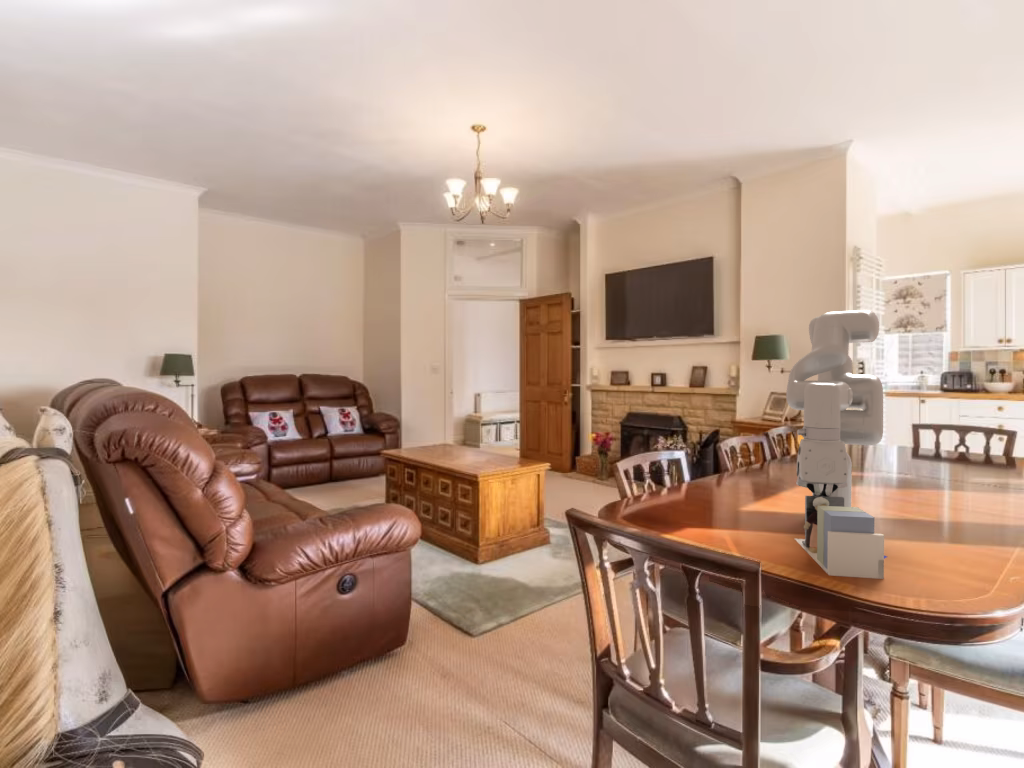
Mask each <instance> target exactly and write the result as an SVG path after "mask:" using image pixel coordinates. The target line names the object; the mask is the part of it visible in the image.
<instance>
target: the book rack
mask: <svg viewBox="0 0 1024 768" xmlns="http://www.w3.org/2000/svg"><path fill="white" fill-rule="evenodd" d="M794 540H795V542H797V543H798V545H800V547H801V548H802V549H803V550H804V551H805V552H806V553H807V554H808V555H809V556H810V557H811V559H813V560H814V561H815V562H816V563H817V565H819V567H821V569H822V570H823V571H824V572H825V573H826V574H827V575H828V576H833V577H834V576H835V577H848V578H864V579H878V580H881V579H882V580H884V579H885V574H884V573H885V559H884V556H885V535H884V534H882V533H874V534H873V533H853V532H832V531H828V551H827V569H826V568H825V567H824V566H823V565H822V564H821V563H820V562H819V561H818V560H817V553H812V552H810V551H809V550H808V549H809V547H806V546H805V545H804V544H803V543H802V541H805V538H794Z"/></svg>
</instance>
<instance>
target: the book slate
mask: <svg viewBox="0 0 1024 768" xmlns="http://www.w3.org/2000/svg"><path fill="white" fill-rule="evenodd" d="M828 531H832V532H853V533H873V534H875V517H874V516H872V515H871V514H869V513H867V512H866V511H865V512H843V511H824V567H825V568H826V569H827V551H828Z"/></svg>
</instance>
